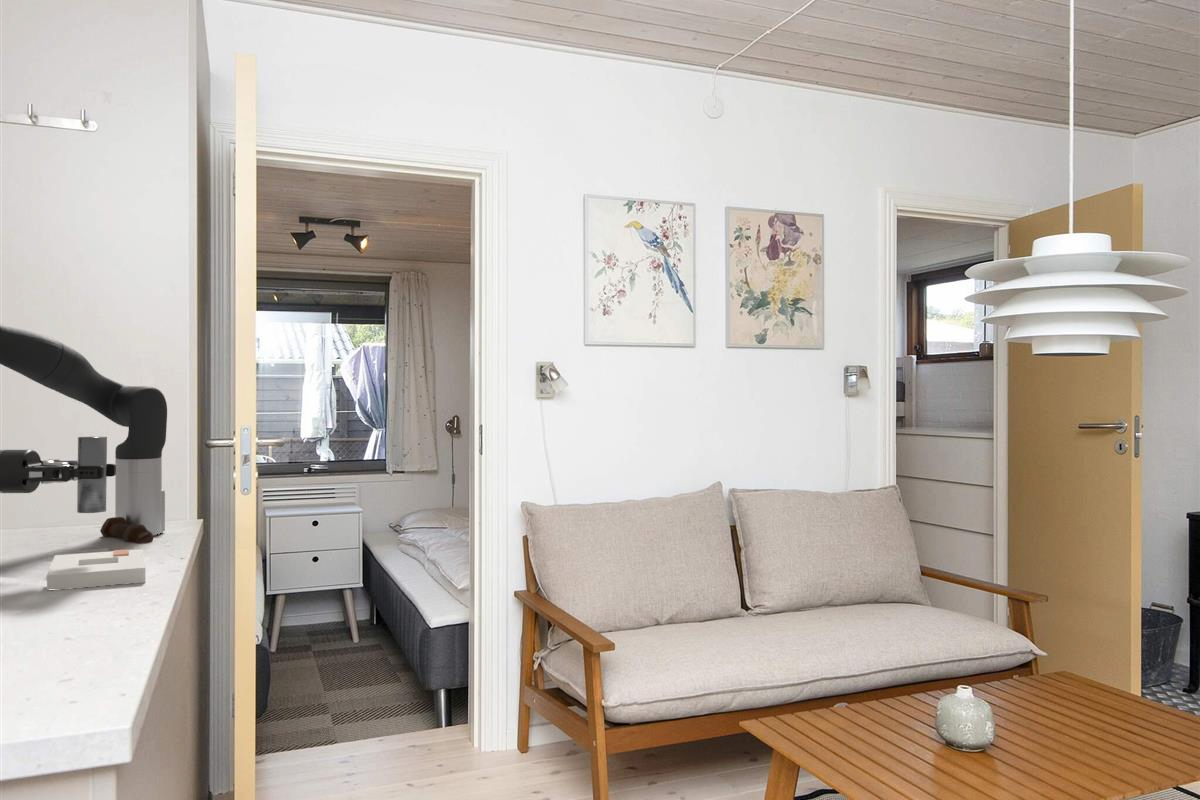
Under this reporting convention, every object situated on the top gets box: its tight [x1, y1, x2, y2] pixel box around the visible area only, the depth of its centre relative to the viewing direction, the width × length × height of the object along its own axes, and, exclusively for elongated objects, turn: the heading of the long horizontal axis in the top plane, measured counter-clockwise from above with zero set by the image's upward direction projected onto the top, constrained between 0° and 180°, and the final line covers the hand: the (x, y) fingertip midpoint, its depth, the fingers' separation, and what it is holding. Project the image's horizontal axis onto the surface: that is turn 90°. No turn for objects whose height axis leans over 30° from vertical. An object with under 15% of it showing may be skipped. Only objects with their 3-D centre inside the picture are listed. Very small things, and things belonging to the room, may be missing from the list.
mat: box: [46, 547, 110, 562], centre depth 168 cm, size 10×10×1 cm
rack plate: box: [46, 548, 146, 591], centre depth 153 cm, size 20×14×3 cm
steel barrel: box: [76, 436, 108, 514], centre depth 154 cm, size 4×4×13 cm
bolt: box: [100, 517, 154, 544], centre depth 187 cm, size 6×5×15 cm
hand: (108, 471), depth 155 cm, fingers closed on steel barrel, 4 cm apart
